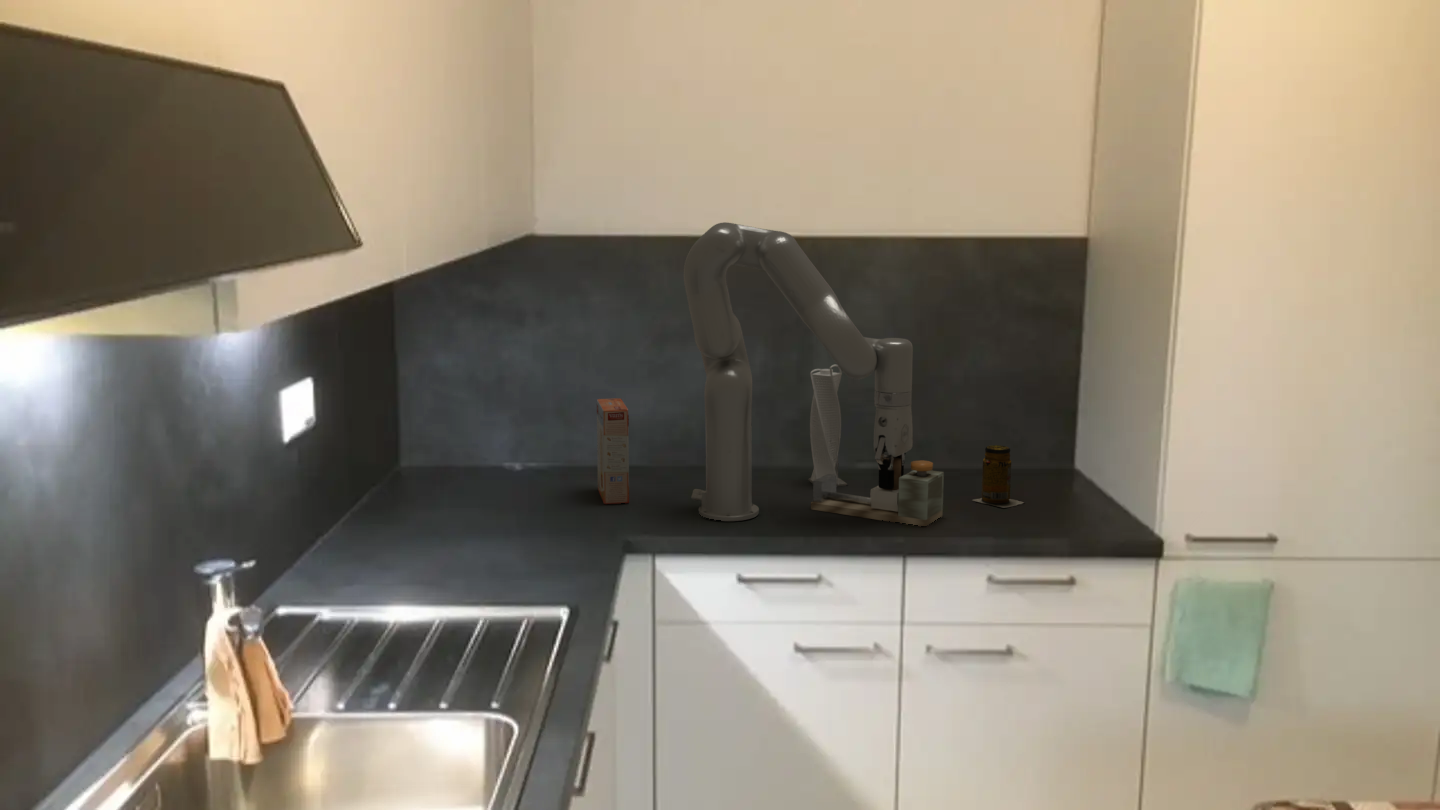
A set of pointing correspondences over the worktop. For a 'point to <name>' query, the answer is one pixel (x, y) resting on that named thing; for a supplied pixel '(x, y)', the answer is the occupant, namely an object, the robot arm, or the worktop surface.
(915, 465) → the button
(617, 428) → the cracker box
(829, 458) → the skyscraper
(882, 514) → the rail base
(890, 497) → the carriage
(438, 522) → the worktop surface
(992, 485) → the condiment
